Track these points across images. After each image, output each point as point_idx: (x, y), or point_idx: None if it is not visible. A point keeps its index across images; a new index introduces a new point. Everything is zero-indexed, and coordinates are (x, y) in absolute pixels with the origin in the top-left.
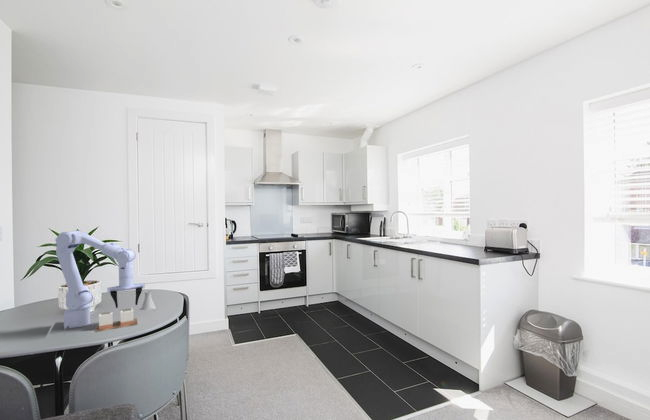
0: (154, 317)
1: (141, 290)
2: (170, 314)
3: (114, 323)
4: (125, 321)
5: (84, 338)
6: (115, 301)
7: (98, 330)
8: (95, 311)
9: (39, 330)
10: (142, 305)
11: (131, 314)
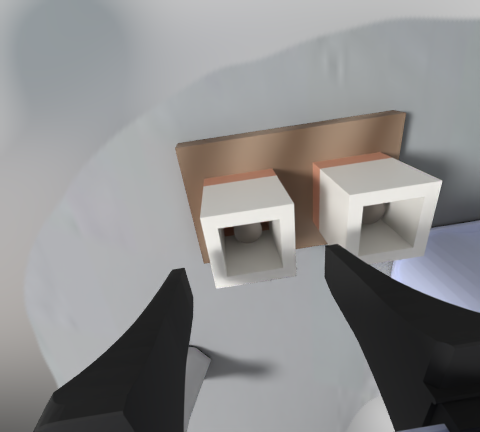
0: (125, 277)
1: (40, 419)
2: (50, 293)
3: (305, 222)
4: (249, 180)
5: (441, 86)
6: (376, 276)
7: (384, 135)
8: (364, 394)
9: None
10: (200, 386)
11: (214, 202)
